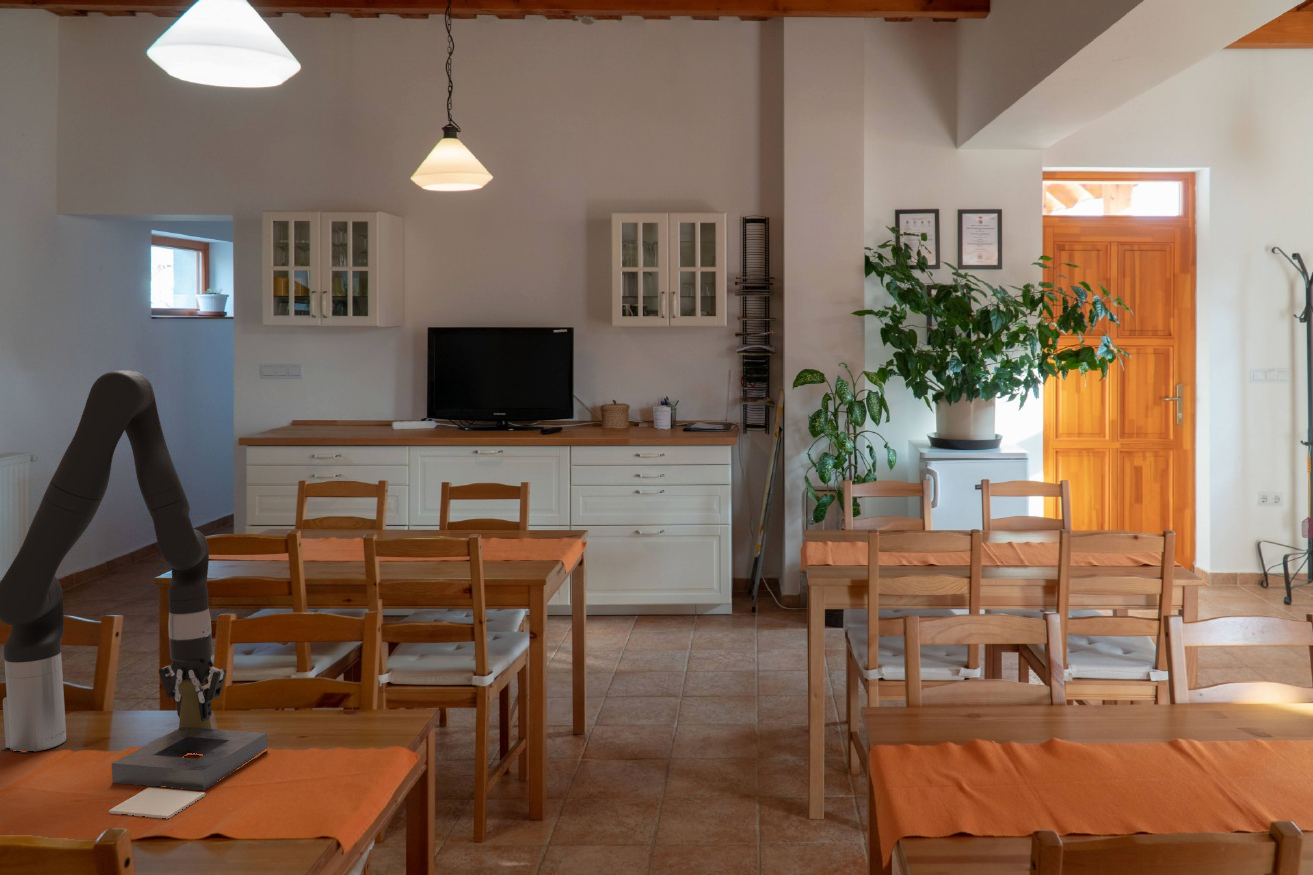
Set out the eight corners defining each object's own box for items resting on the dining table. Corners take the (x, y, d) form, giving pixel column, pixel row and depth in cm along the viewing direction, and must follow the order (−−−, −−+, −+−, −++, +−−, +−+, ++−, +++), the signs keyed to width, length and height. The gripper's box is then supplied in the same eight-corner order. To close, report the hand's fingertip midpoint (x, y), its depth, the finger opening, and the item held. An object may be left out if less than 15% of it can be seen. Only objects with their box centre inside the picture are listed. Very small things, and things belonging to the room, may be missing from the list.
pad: (109, 813, 165) (108, 810, 165) (148, 790, 174) (148, 787, 174) (168, 819, 163) (168, 816, 163) (205, 795, 171) (205, 792, 171)
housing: (112, 783, 177) (111, 763, 177) (183, 744, 195) (182, 726, 194) (203, 791, 173) (202, 771, 173) (267, 751, 191) (266, 733, 190)
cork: (199, 739, 197) (196, 683, 197) (171, 737, 199) (168, 681, 198) (218, 728, 203) (215, 673, 203) (191, 726, 205) (188, 672, 204)
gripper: (145, 636, 198) (150, 723, 199) (209, 639, 194) (214, 728, 195) (171, 626, 205) (176, 710, 206) (234, 629, 202) (239, 715, 203)
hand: (194, 719), depth 201 cm, fingers closed on cork, 4 cm apart
